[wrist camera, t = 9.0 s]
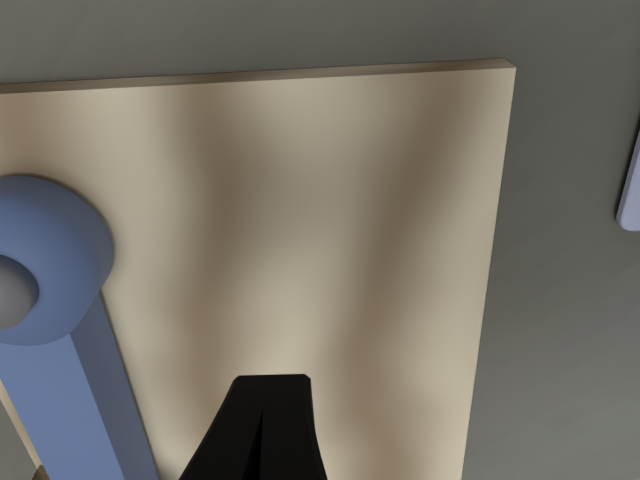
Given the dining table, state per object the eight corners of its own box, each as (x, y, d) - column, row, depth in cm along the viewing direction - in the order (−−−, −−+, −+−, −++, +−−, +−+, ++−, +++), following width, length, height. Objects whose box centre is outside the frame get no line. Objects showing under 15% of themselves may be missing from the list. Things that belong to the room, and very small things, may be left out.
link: (-62, 178, 17) (-138, 228, 14) (91, 173, 17) (45, 222, 14) (86, 504, 26) (57, 573, 23) (187, 503, 26) (170, 573, 23)
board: (504, 58, 16) (516, 67, 15) (454, 470, 26) (459, 493, 25) (-127, 91, 17) (-157, 101, 16) (63, 477, 27) (53, 499, 26)
